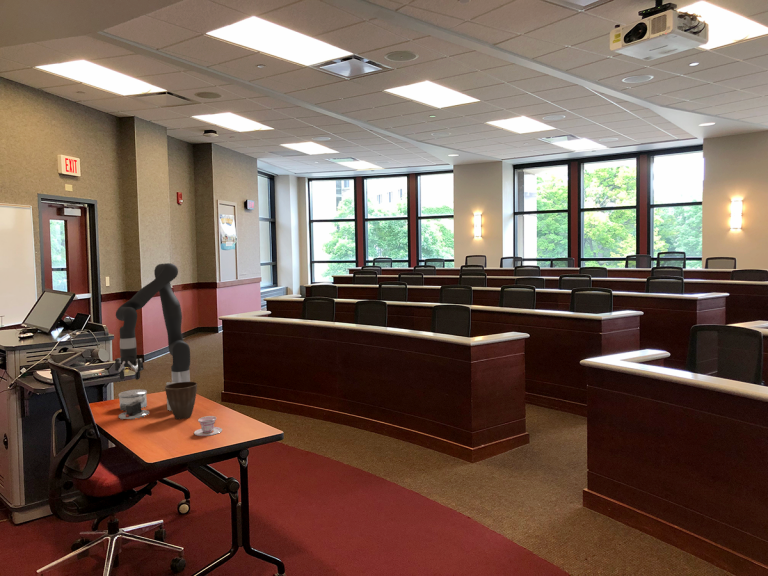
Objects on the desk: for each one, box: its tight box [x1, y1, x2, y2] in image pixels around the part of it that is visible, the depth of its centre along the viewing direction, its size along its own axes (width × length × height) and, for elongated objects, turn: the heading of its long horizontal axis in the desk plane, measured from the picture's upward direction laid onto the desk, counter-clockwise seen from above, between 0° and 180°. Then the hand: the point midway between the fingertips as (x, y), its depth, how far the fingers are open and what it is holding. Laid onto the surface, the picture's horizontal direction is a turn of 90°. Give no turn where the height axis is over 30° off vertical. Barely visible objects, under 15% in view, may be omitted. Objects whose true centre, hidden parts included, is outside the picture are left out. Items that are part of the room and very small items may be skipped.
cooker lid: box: [118, 402, 150, 420], centre depth 287 cm, size 14×14×6 cm
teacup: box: [193, 415, 223, 437], centre depth 256 cm, size 12×12×6 cm
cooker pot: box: [118, 388, 148, 412], centre depth 302 cm, size 14×14×8 cm
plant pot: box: [164, 381, 198, 420], centre depth 280 cm, size 15×15×16 cm
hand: (129, 379), depth 286 cm, fingers open, 8 cm apart
